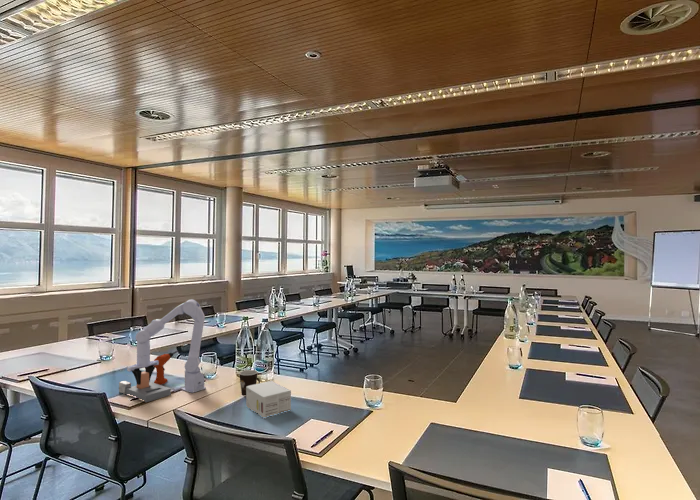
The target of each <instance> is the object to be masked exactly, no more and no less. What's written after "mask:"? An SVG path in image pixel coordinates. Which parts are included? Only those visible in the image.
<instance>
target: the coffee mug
mask: <svg viewBox="0 0 700 500" xmlns="http://www.w3.org/2000/svg"><path fill="white" fill-rule="evenodd" d="M258 372H259V371H257V370H255V369H245V370H242V371H240V372H239V375H238V376H239V383H240V390H241V392H240V393H241V395H242V396H244V395H246V386H250V385H255V384H259V383H261V380H260V379H259V377H258V374H259V373H258ZM257 380H258V383H257Z"/></svg>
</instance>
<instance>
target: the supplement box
mask: <svg viewBox="0 0 700 500" xmlns="http://www.w3.org/2000/svg"><path fill="white" fill-rule="evenodd" d="M258 383H259V382H258ZM258 383H256V384H255V385H250V386H246V396H245V397H246V398H245V400H246V401H245V402H246V403H245V404H246V406H247V407H248V408H247V407H246V408H247V409H249V408H250V409H251V410H250V409H249V410H250V411H252V410H253V411H255V412H256V413H258V414H259V415H261V416H262V417H267V416H270V415H274V414H278V413H281V412H284V411H288V410H291V411H292V390H290V389H288V388H287V387H285V386H284V385H281V384H278V383H277V382H275V381H273V380H268V381H264V382H260V383H259V384H258ZM253 411H252V412H253ZM255 412H254V413H255ZM256 413H255V414H256ZM258 414H257V415H258ZM259 415H258V416H259ZM262 417H261V418H262Z"/></svg>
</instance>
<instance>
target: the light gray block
mask: <svg viewBox="0 0 700 500" xmlns="http://www.w3.org/2000/svg"><path fill="white" fill-rule="evenodd" d="M129 387H132V383H131V382H129V381H127V380H122V381H119V382H118V393H121V394H122V393H123V395H125V394H126V388H129Z"/></svg>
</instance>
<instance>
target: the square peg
mask: <svg viewBox="0 0 700 500" xmlns="http://www.w3.org/2000/svg"><path fill="white" fill-rule="evenodd" d="M136 385H137V388H139V389H143V388H147V387H149V372H146V371H145V370H144V371H142V373H141V383H140V385H138V384H137V383H136Z"/></svg>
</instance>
